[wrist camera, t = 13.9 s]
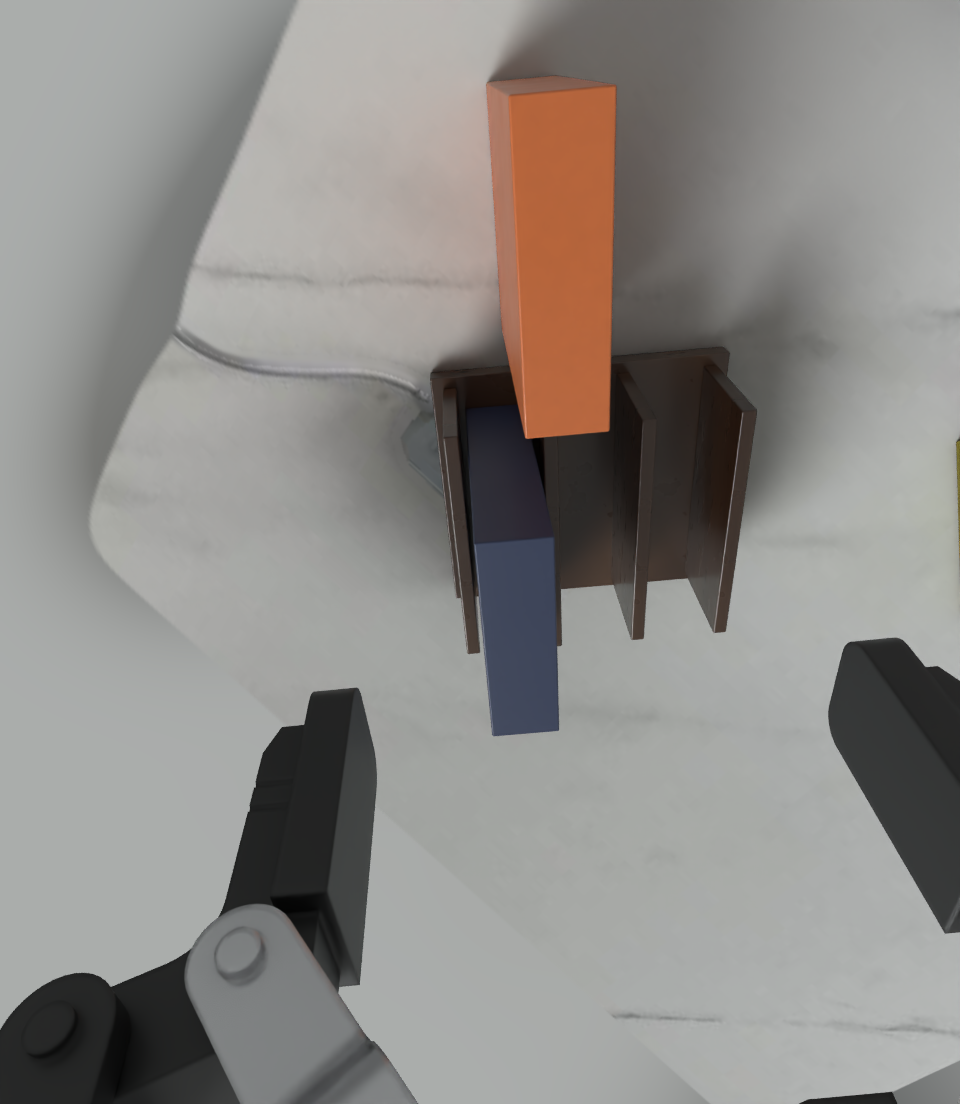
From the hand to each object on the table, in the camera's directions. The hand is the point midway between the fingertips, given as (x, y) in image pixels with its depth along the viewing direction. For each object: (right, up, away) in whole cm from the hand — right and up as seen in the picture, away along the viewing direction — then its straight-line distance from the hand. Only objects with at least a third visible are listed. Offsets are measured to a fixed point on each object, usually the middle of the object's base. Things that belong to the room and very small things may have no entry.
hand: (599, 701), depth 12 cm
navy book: (-1, +5, +23) cm, 24 cm away
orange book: (0, +16, +17) cm, 23 cm away
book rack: (+3, +6, +24) cm, 24 cm away
